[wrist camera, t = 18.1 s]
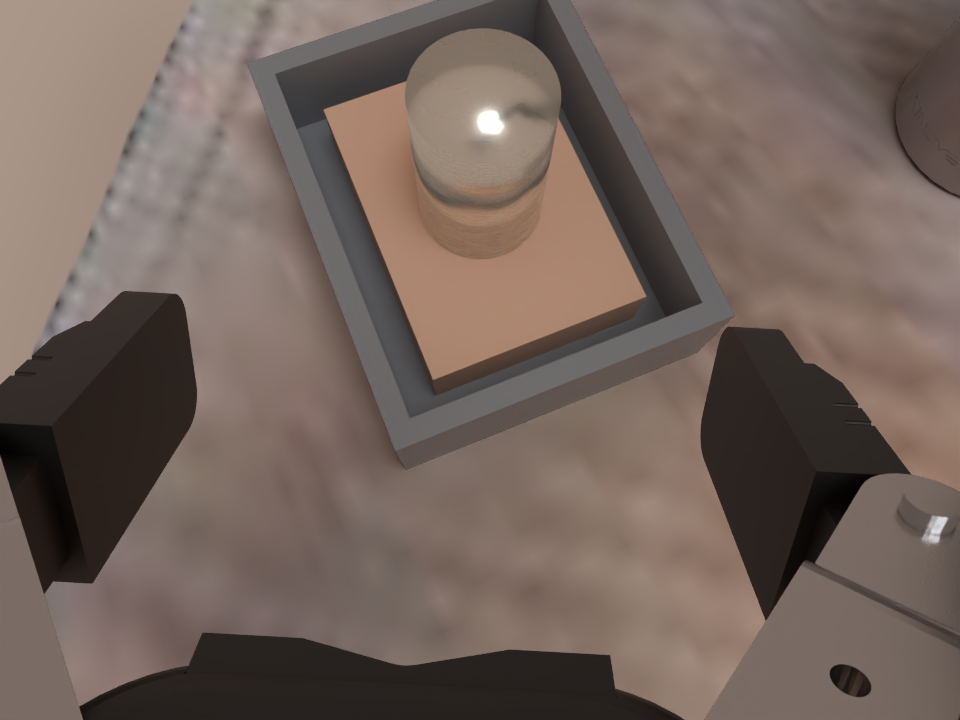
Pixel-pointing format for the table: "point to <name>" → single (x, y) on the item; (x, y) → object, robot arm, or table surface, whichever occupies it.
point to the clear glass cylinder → (481, 139)
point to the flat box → (483, 282)
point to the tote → (607, 163)
